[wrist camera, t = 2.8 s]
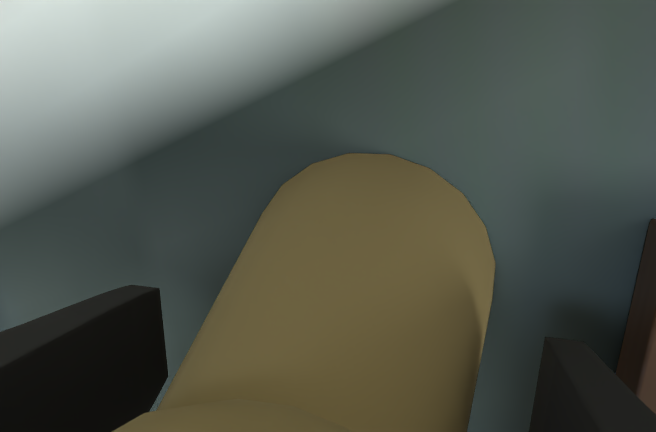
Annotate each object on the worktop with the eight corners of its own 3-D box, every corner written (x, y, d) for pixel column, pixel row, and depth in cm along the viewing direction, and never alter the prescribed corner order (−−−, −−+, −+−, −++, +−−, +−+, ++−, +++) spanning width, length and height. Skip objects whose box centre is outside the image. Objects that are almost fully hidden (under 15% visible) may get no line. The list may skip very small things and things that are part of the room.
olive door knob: (484, 136, 12) (573, 699, 2) (505, 373, 14) (605, 1261, 4) (229, 167, 14) (-373, 583, 4) (278, 377, 16) (-47, 1028, 6)
